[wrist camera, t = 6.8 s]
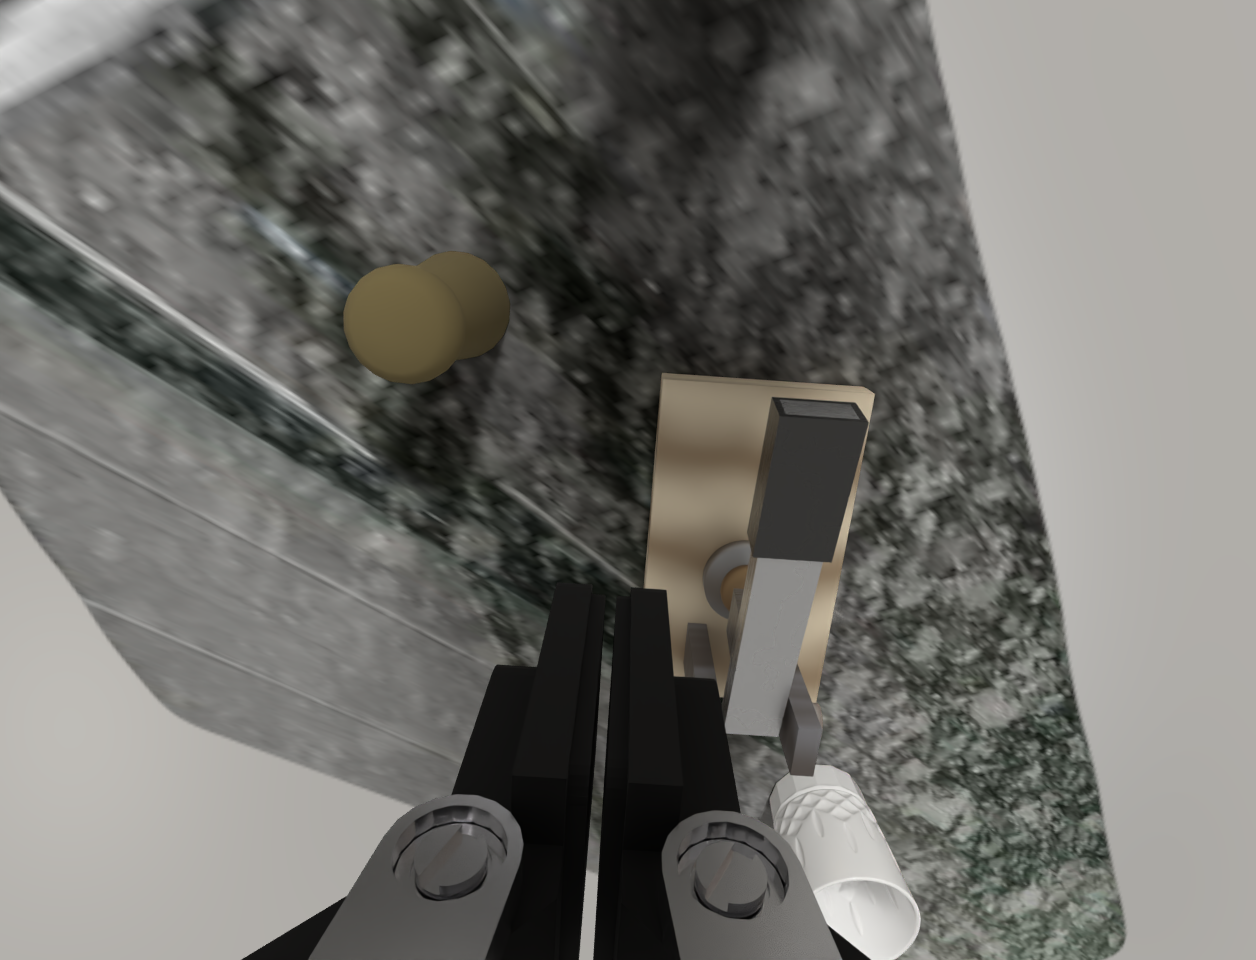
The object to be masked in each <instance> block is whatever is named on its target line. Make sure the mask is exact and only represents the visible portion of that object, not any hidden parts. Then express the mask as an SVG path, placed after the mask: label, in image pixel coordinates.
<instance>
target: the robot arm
mask: <svg viewBox="0 0 1256 960" xmlns="http://www.w3.org/2000/svg"><path fill="white" fill-rule="evenodd" d="M605 596H606V595H597V594H592V585H587V584H572V583H557V585H556V589H555V593H554V597H553V601H552V606H551V610H550V614H549V618H548V623H547V627H546V631H545V635H544V640H543V644H542V648H541V652H540V657H539V661H538V665H537V667H525V666H510V665H496V666H495V668H494V670H493V672H492V675H491V678H490V681H489V684H488V687H487V690H486V693H485V696H484V699H483V702H482V705H481V708H480V711H479V714H478V717H477V720H476V723H475V726H474V729H473V732H472V735H471V738H470V741H469V744H468V747H467V750H466V753H465V756H464V759H463V762H462V765H461V768H460V771H459V774H458V777H457V780H456V783H455V786H454V789H453V791H452V794H451V795H450V796H445V797H439V798H435V799H432V800H430V801H428V802H425V803H423V804H421V805H418V806H416V807H414V808H413V809H411V810H410V811H409V812H407V813H406V814H405V815H403V816H402V817H400V818H399V819H398V820H397V821H396V822H395V823H394V825H393V826H392V827H391V828H390V829H389V831H388V832H387V833H386V834H385V835H384V837H383V839H382V840H381V842H380V843H379V845H378V846H377V848H376V850H375V851H374V853H373V855H372V856H371V858H370V859H369V861H368V863H367V864H366V866H365V868H364V869H363V871H362V872H361V874H360V876H359V877H358V879H357V881H356V882H355V884H354V886H353V887H352V889H351V890H350V892H349V894H348V895H347V896H346V897H344V898H343V899H341V900H339V901H338V902H336V903H335V904H333V905H331V906H329V907H328V908H326V909H325V910H323V911H321V912H319V913H318V914H316V915H315V916H313V917H311V918H310V919H308V920H306V921H305V922H303V923H301V924H300V925H298V926H296V927H295V928H293V929H291V930H290V931H288V932H286V933H285V934H283V935H281V936H280V937H278V938H276V939H275V940H273V941H272V942H270V943H268V944H266V945H265V946H263V947H262V948H260V949H258V950H257V951H255V952H254V953H252V954H250V955H248V956H247V957H245V958H243V959H242V960H579V951H580V939H581V926H582V913H583V902H584V890H585V877H586V865H587V853H588V841H589V828H590V816H591V804H592V791H593V779H594V767H595V754H596V739H597V724H598V708H599V692H600V676H601V661H602V645H603V629H604V613H605ZM594 941H595V942H594V957H593V960H871V959H870V958H868V957H867V956H866V955H865V954H863V953H862V952H861V951H860V950H858V949H857V948H856V947H855V946H853V945H852V944H851V943H850V942H849V941H847V940H846V939H845V938H844V937H842V936H841V935H840V934H839V933H837V932H836V931H835V930H834V929H832V928H831V927H830V926H829V925H827V923H826V921H825V918H824V916H823V914H822V911H821V909H820V907H819V905H818V902H817V900H816V898H815V895H814V893H813V891H812V888H811V886H810V884H809V881H808V879H807V877H806V874H805V872H804V870H803V867H802V865H801V863H800V861H799V859H798V858H797V856H796V854H795V853H794V851H793V849H792V848H791V846H790V845H789V843H788V842H787V841H785V840H784V839H783V838H782V837H781V836H780V835H779V834H778V833H777V832H776V831H775V830H774V829H773V828H771V827H769V826H767V825H766V824H764V823H762V822H761V821H759V820H757V819H756V818H753V817H750V816H747V815H743V814H741V813H740V807H739V801H738V796H737V790H736V785H735V779H734V774H733V768H732V763H731V757H730V752H729V746H728V741H727V735H726V729H725V724H724V718H723V713H722V707H721V702H720V696H719V691H718V686H717V682H716V680H715V679H710V678H695V677H680V676H674V671H673V660H672V648H671V636H670V624H669V612H668V600H667V590H663V589H648V588H633V587H631V594H630V597H627V596H617V601H616V615H615V630H614V644H613V658H612V673H611V687H610V702H609V716H608V730H607V745H606V760H605V776H604V793H603V809H602V825H601V842H600V858H599V874H598V891H597V907H596V925H595V940H594Z"/></svg>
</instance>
